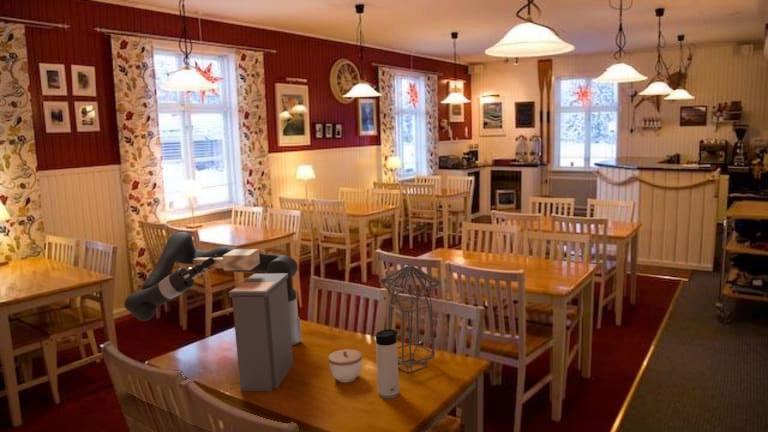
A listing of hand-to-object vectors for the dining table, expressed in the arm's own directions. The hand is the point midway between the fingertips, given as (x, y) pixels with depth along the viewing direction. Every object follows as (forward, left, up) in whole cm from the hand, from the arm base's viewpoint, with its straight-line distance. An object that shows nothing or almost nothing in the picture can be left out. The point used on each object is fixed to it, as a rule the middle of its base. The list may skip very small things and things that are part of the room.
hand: (215, 258), depth 194 cm
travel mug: (-34, +51, -39) cm, 73 cm away
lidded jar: (-29, +33, -39) cm, 59 cm away
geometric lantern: (-51, +39, -39) cm, 75 cm away
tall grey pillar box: (-9, +15, -39) cm, 43 cm away
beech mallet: (-2, +2, -3) cm, 4 cm away
